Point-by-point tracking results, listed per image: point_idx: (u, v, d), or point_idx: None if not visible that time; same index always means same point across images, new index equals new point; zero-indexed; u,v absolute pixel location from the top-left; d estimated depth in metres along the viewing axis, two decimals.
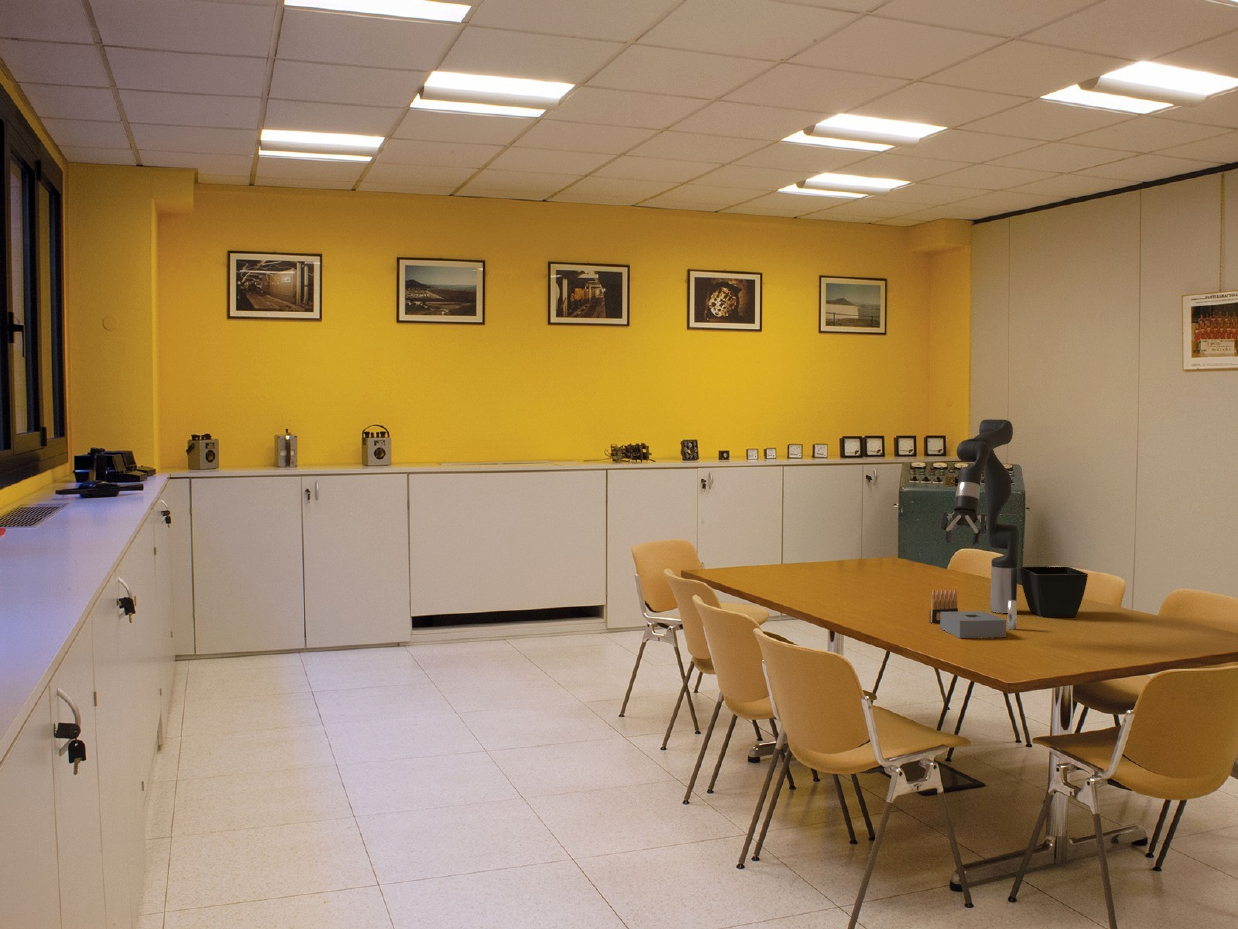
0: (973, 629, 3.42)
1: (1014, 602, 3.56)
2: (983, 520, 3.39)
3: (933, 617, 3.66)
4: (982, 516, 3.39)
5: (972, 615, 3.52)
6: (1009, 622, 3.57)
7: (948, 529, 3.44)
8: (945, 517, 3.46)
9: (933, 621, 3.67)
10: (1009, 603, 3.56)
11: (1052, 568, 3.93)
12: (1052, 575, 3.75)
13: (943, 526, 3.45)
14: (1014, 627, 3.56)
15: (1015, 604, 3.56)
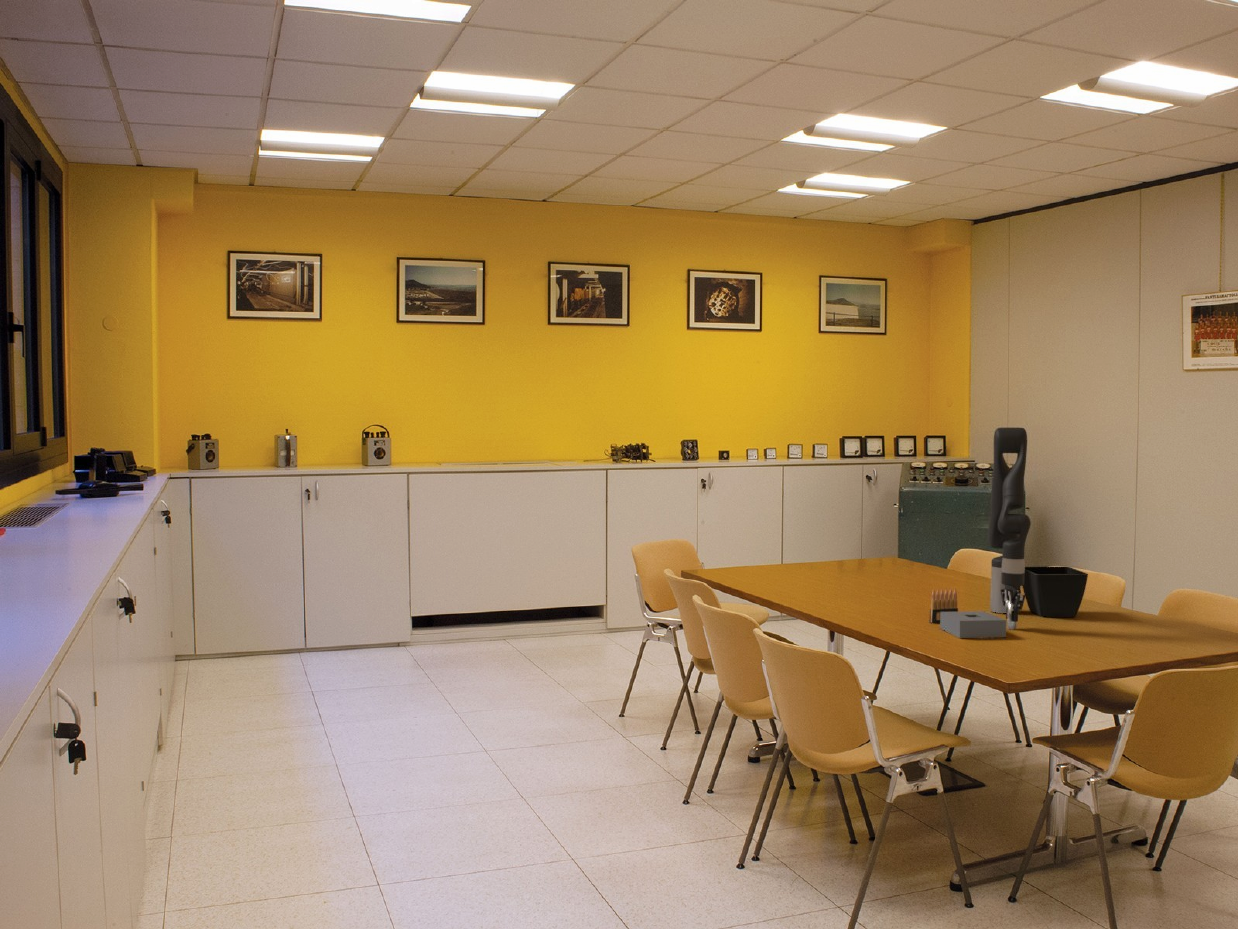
0: (973, 629, 3.42)
1: None
2: (1016, 600, 3.52)
3: (933, 617, 3.66)
4: (1017, 596, 3.51)
5: (972, 615, 3.52)
6: (1009, 622, 3.57)
7: (1006, 606, 3.59)
8: (1002, 594, 3.62)
9: (933, 621, 3.67)
10: (1009, 603, 3.56)
11: (1052, 568, 3.93)
12: (1052, 575, 3.75)
13: (1003, 603, 3.61)
14: (1014, 627, 3.56)
15: None
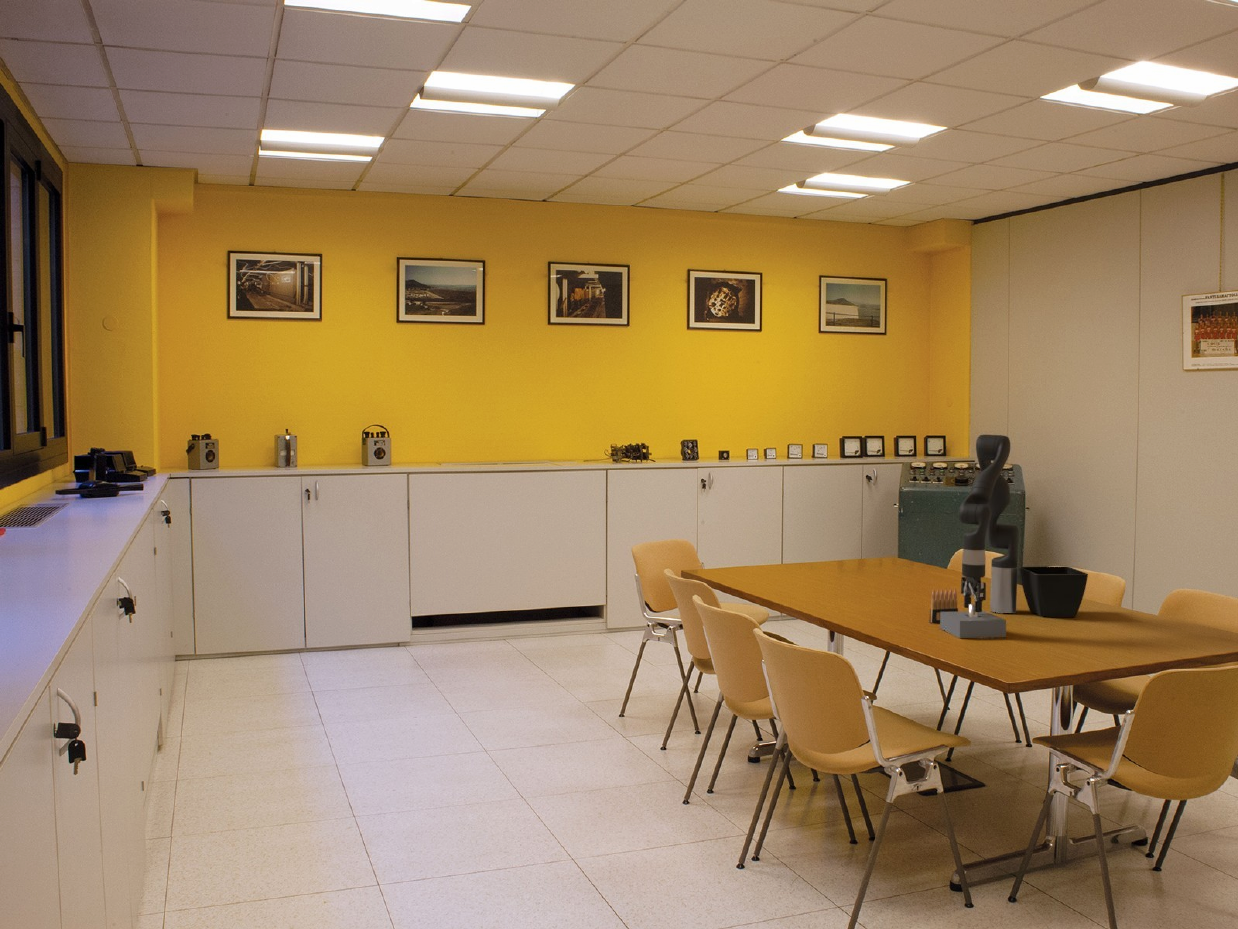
0: (973, 629, 3.42)
1: None
2: (978, 589, 3.43)
3: (933, 617, 3.66)
4: (977, 584, 3.43)
5: None
6: None
7: (964, 594, 3.54)
8: (962, 582, 3.55)
9: (933, 621, 3.67)
10: (970, 607, 3.49)
11: (1052, 568, 3.93)
12: (1052, 575, 3.75)
13: (961, 591, 3.55)
14: None
15: None
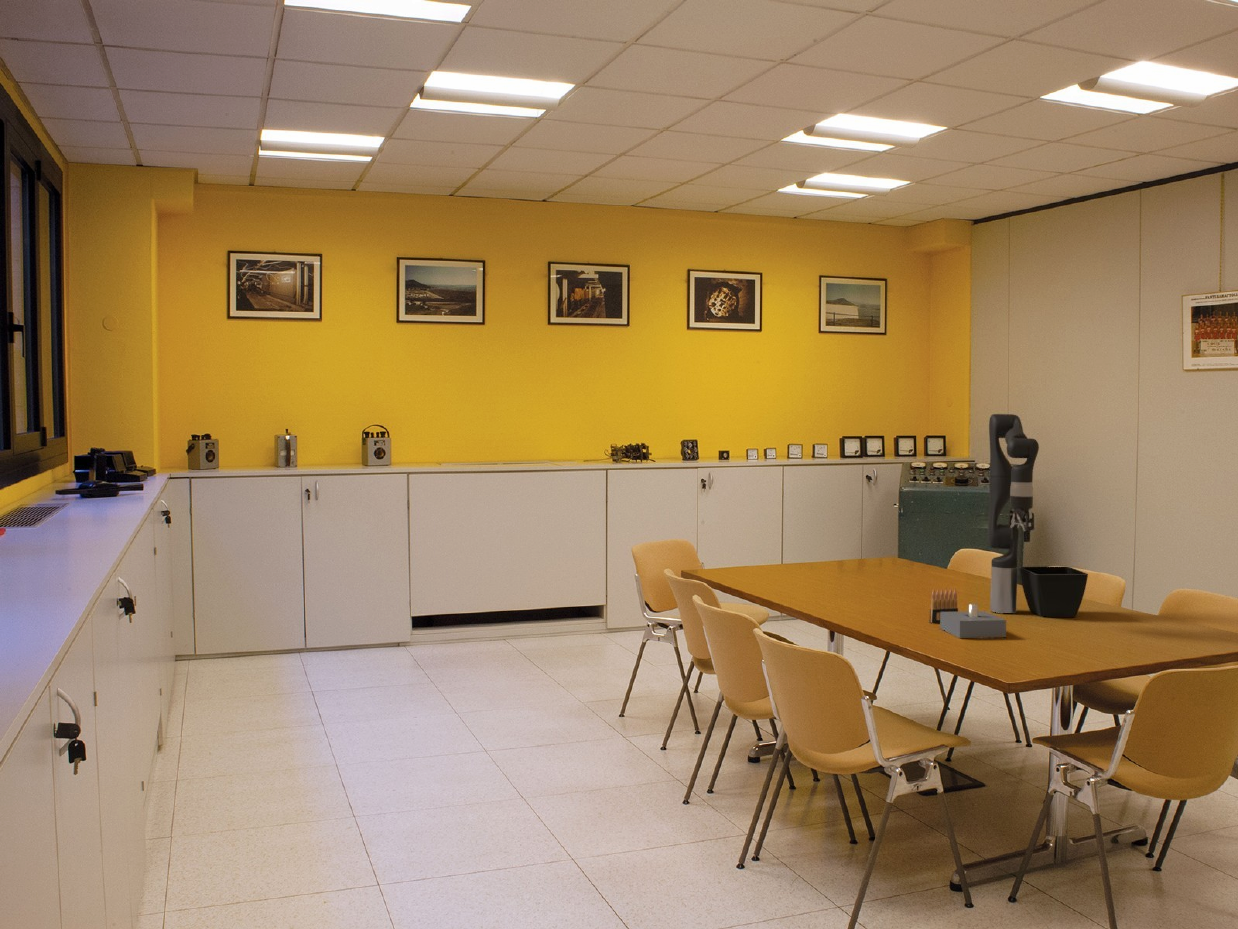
0: (973, 629, 3.42)
1: (975, 606, 3.48)
2: (1026, 519, 3.57)
3: (933, 617, 3.66)
4: (1026, 515, 3.57)
5: None
6: None
7: (1011, 526, 3.68)
8: (1009, 514, 3.69)
9: (933, 621, 3.67)
10: (970, 607, 3.49)
11: (1052, 568, 3.93)
12: (1052, 575, 3.75)
13: (1009, 523, 3.70)
14: None
15: (976, 608, 3.48)
